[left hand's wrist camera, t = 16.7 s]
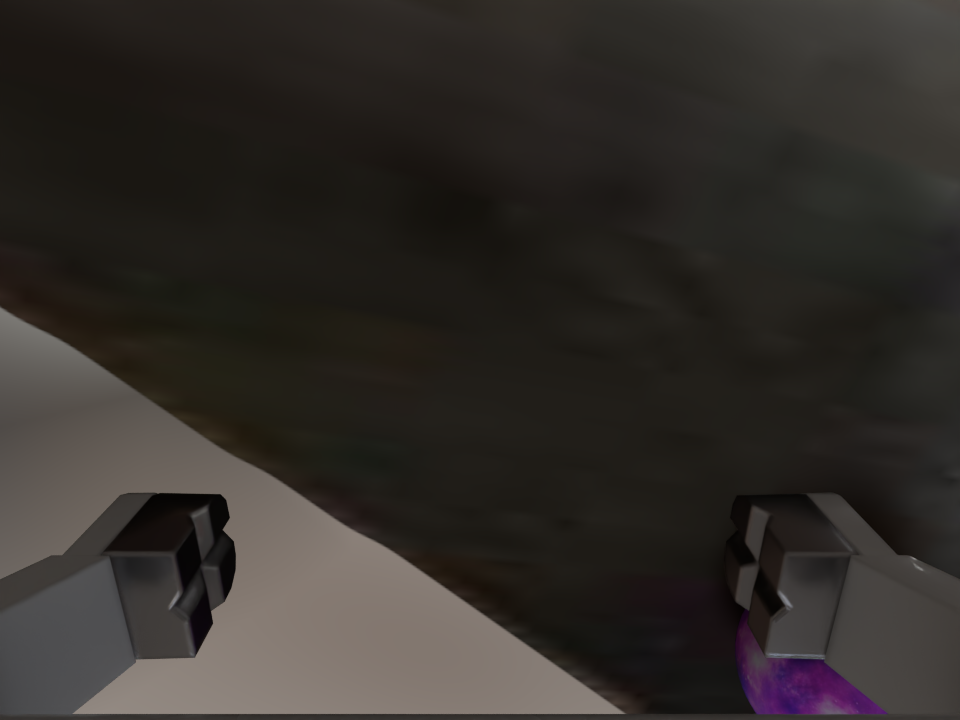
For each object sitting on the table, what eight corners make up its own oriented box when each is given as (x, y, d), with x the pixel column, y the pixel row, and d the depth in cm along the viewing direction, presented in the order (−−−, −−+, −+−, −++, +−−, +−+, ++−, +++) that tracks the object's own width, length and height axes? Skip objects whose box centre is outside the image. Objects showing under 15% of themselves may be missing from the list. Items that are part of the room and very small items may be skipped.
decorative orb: (811, 503, 56) (921, 632, 42) (904, 599, 60) (1034, 747, 46) (678, 600, 60) (738, 748, 46) (773, 685, 64) (856, 845, 50)
